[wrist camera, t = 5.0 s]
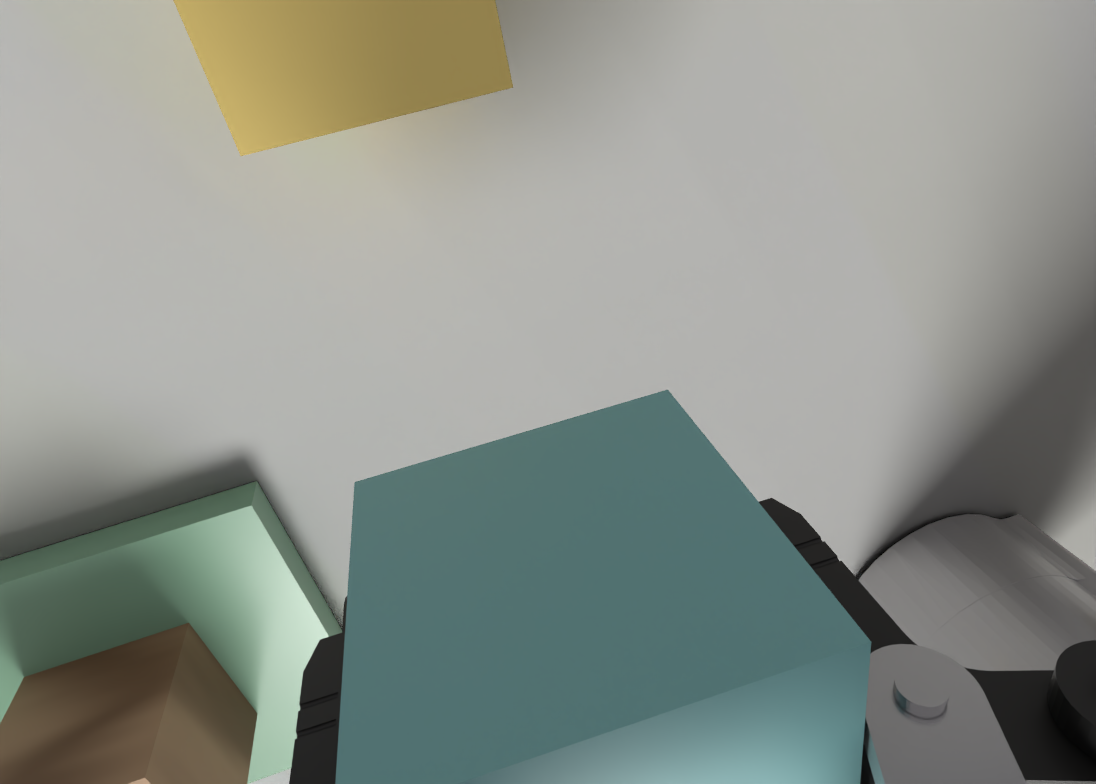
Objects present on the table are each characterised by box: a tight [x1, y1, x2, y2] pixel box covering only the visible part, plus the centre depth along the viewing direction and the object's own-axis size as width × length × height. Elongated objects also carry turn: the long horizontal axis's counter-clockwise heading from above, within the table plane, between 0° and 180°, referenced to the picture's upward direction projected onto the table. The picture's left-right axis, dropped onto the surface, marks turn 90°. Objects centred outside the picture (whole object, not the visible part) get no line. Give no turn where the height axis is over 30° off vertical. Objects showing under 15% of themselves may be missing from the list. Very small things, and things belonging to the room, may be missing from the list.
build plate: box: [0, 481, 342, 784], centre depth 22 cm, size 12×12×1 cm
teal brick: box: [335, 390, 871, 784], centre depth 9 cm, size 5×5×5 cm
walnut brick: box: [0, 623, 257, 784], centre depth 20 cm, size 5×5×5 cm
